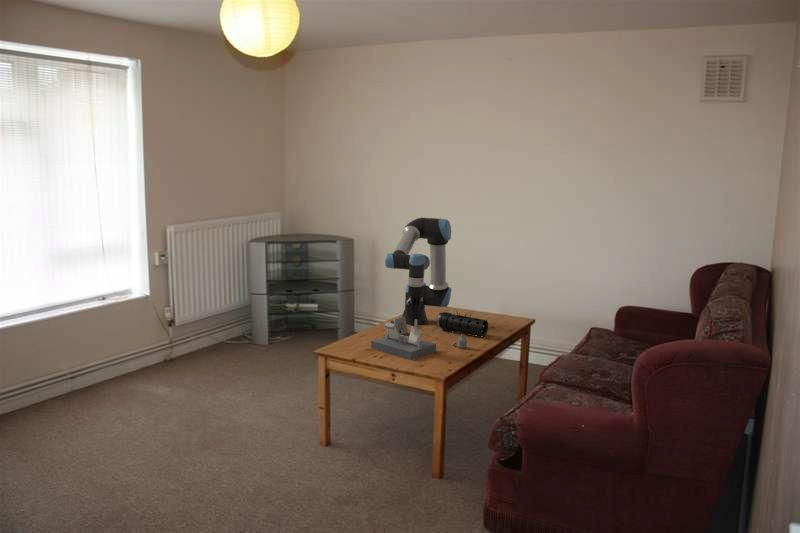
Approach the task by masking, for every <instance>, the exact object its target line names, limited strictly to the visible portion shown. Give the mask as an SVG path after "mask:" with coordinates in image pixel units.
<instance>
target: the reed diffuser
mask: <svg viewBox="0 0 800 533" xmlns="http://www.w3.org/2000/svg"><path fill="white" fill-rule="evenodd" d="M456 315H459V316H458V319H459V317H460V315H461V314H460V312H459V313H458V311H456ZM464 316H465V319H466V317H467V314H465V315H464ZM471 316H472V314H470V315H469V317H471ZM469 319H470V318H469ZM468 322H469V320H468ZM459 324H461V320H460V321H459ZM467 325H468V323H467ZM464 327H465V323H464ZM466 328H467V326H466ZM460 329H461V332H460V337H458V338H457V343H456V342H455V341H453V342H452V344H451V345H452V346H453V347H458V348H460V349H461V348H462V349H465V348H467V343H468V339H467V338H466V337H465V335H466V334H465V332H464V330H463V333H462V327H461V326H460ZM465 331H466V329H465Z"/></svg>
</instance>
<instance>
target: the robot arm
mask: <svg viewBox="0 0 800 533" xmlns="http://www.w3.org/2000/svg"><path fill="white" fill-rule="evenodd" d="M451 238H452V226H451V222H450V221H449V220H448V218H447V219H446V218H441V217H440V218H437V217H435V218H433V217H418V218H414V219H412V220H410V221H409V223H407V224H406V225H405V227H404V228H403V231H402V236H401V238H400V240H399V241H398V243H397V245H396V247H395V249H394V251H393V252H390V253H389V252H388V253H386V255H385V258H384V264H385V268H387V269H396V270H408V280H407V281H408V284H407V285H406V286H405V291H404V292H405V294H404V295H405V297H404V298H405V299H404V310H403V312H402V316H401V317H405V320H406V325H410V332H413V333H416V332H417V326H420V325H425V324H427V323H428V317H427V314H426V310H425V307H426V306H427V307H428V306H429V307H438V308H446V307H448V305H449V304H450V300H451V296H452V287H449V283H448V282H447V278H446V277H447V275H446V272H447V270H446V268H447V267H446V265H447V264H446V256H447V254H446V246H447V244H448V243H449V241H450V240H451ZM419 239H423V240H425V239H426V240H427V241H426V242H427V244H428V245H429V252H430V253H429V255H430V256H427V255H426V254H422V253H411V250H412V249H413V247H414V244H415V242H416V241H418V240H419ZM410 253H411V254H410ZM429 267H430V282H429V283H428V285H427V283H426V282H425V281H424V280H425V270H427V269H428V268H429Z"/></svg>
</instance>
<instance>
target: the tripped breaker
mask: <svg viewBox="0 0 800 533" xmlns="http://www.w3.org/2000/svg"><path fill="white" fill-rule="evenodd" d="M423 330H424V326H420V325H417V332H416V333H413V332H411V331H410V332H409V335H408V337H409V339H408V341H407V343H410V344H414V345H418V341H419V339H420V338H421V334H422V331H423ZM420 340H421V339H420Z"/></svg>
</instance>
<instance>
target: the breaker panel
mask: <svg viewBox="0 0 800 533" xmlns="http://www.w3.org/2000/svg"><path fill="white" fill-rule="evenodd" d="M398 335H399V340H396V339H392V338H389V334H388V332H387V331H386V332H385V336H384V337H380V338H376V339H373V340H371V341H370V348H372V350H375V349H376V350H375V351H378V350H379V352H381V351H383V352H382V353H385V352H386V354H388V353H389V355H392V356H395V357H398V358H402V359H406V360H409V361H412V360H416V359H417V358H421V357H424V356H427V355H429V354H433V353H435V352H437V343H434V342H430V341H428V340H427V341H426V340H423V339H419V341H418V345H414V344H410V343H407V341H408V339H409V335H405V334H403V335H401V334H398Z"/></svg>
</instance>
